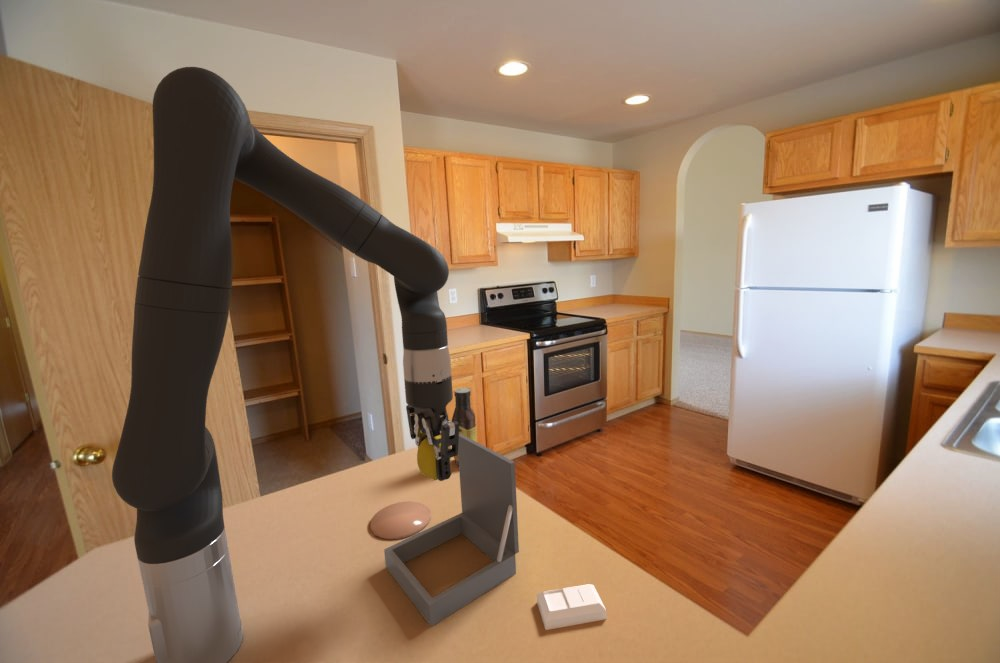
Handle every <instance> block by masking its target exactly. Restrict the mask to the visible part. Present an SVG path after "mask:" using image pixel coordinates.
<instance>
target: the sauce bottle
mask: <svg viewBox="0 0 1000 663" xmlns="http://www.w3.org/2000/svg"><path fill="white" fill-rule="evenodd" d="M453 396H454V398H455V408H454V411H453V414H452V418H451V422H455V421H457V422H458V423H459V434H462V435H464V436H466V437H468V438H470V439H472V440H473V441H475V442H477V443H478V441H477V439H478V438H477V424H476V413H475V411H474V409H473V408H472V407H471V406H472V405H471V404H472V403H471V389H470V388H468V387H459V388H456V389H455V390H454V395H453ZM453 460H454V464H455V465H456V466H458V467H459V459H458V455H457V456H454V457H453Z"/></svg>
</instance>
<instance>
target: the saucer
mask: <svg viewBox="0 0 1000 663" xmlns="http://www.w3.org/2000/svg"><path fill="white" fill-rule="evenodd" d="M431 515H432V514H431V510H430V508H429V507H428V506H427V505H425V504H424V503H421V502H417V501H401V502H400V501H399V502H396V503H392V504H389V505H388V506H385V507H383V508H382V509H380V510H379V511H377V512H376V513H375V514H374V515H373V517H371V521H370V530H371V532H372V534H373V535H374V536H376V537H378V538H380V539H384V540H401V539H407V538H409V537H412V536H414V535H416V534H418V533H420V532H422V530H423V529H424V530H425V528H426V527H427V526H428V525H429V522H430V521H431V518H432V517H431ZM424 530H423V531H424Z"/></svg>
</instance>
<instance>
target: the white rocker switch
mask: <svg viewBox="0 0 1000 663" xmlns="http://www.w3.org/2000/svg"><path fill="white" fill-rule="evenodd" d="M536 604H537V607H538V610H539V613H540V616H541V620H542V624H543V627H544V630H545V631H548V630H554V629H558V628H559V629H560V628H564V627H570V626H576V625H581V624H587V623H592V622H598V621H605V620H607V609H606V607H605V605H604V603H603V601H602V599H601V597H600V594H599V593H598V591H597V589H596V587H595V585H594V584H592V583H587V584H582V585H575V586H567V587H562V588H556V589H551V590H544V591H541V592H538V593H537V594H536Z"/></svg>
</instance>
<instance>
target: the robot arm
mask: <svg viewBox="0 0 1000 663" xmlns="http://www.w3.org/2000/svg"><path fill="white" fill-rule="evenodd" d="M152 134H153V178H152V179H153V181H152V192H151V198H150V202H149V208H148V213H147V216H146V223H145V227H144V233H143V240H142V248H141V255H140V260H139V261H140V262H139V266H138V273H137V278H136V279H137V282H136V289H135V290H136V291H135V300H134V307H133V308H134V309H133V326H132V327H133V328H132V342H131V343H132V344H131V382H130V393H129V399H128V405H127V410H126V414H125V419H124V422H123V423H124V424H123V427H122V432H121V436H120V439H119V443H118V446H117V449H116V453H115V457H114V460H113V461H114V462H113V464H112V468H111V469H112V470H111V480H112V484H113V487H114V489H115V491H116V494H118V496H119V498H120V499H121V500H122V501H124V503H126V504H127V505H129V506H130V507H133V508H134V509H136V522H135V531H134V539H133V540H134V546H135V552H136V556H137V557H136V558H137V561H138V566H139V571H140V576H141V581H142V585H143V590H144V595H145V600H146V606H147V611H148V619H147V620H148V622H147V625H148V626H147V627H148V632H149V636H150V642H151V646H152V652H153V656H154V660H155V663H228V662H229V661H230V660H231V659H232V658H233V657H234V655H235V654H236V653H237V652H238V651H239V648H240V647H241V644H242V641H243V639H244V638H243V637H244V636H243V628H242V620H241V616H240V610H239V604H238V598H237V592H236V585H235V580H234V579H235V578H234V573H233V569H232V564H231V563H232V562H231V556H230V552H229V546H228V538H227V532H226V525H225V520H224V506H223V503H224V502H223V500H224V499H223V491H222V484H221V478H220V470H219V463H218V458H217V457H218V456H217V451H216V445H215V440H214V438H213V436H212V433H211V432H210V430H209V429H208V428H207V427H206V420H207V419H206V417H207V416H206V414H207V403H208V394H209V390H210V385H211V381H212V378H213V375H214V372H215V368H216V366H217V362H218V359H219V356H220V352H221V348H222V345H223V342H224V337H225V333H226V329H227V325H228V319H229V312H230V305H231V297H232V290H233V289H232V288H233V273H234V265H233V264H234V260H233V259H234V258H233V239H232V230H231V229H232V228H231V227H232V226H231V210H230V209H231V198H232V197H231V196H232V189H233V184H234V181H235V180H237V181H238V182H240V183H242V184H245V185H247V186H249V187H251V188H252V189H254V190H256V191H258V192H260V193H262V195H265V196H266V197H267V198H270V199H272V200H273V201H275V202H277V203H278V204H280V205H281V206H283V207H284V208H286V209H287V210H289V211H290V212H292V213H294V215H296V216H297V217H299V218H301V219H302V220H304V221H305V222H306V223H307V224H309V225H310V226H312V227H313V228H314V229H316V230H318V231H319V232H321V233H322V234H323V235H325V236H327V237H328V239H331V240H332V241H334V242H335V243H337V244H339V245H340V246H341V247H343V248H344V249H346V250H347V251H349V252H350V253H352V254H354V256H356V257H358V258H360V259H361V260H364V261H365V262H368V263H370V264H371V263H372V264H374V265H376V266H378V267H379V268H381V269H382V270H384V271H385V272H387V273H389V274H390V275H391V276H393V281H394V288H395V294H396V299H397V304H398V307H399V312H400V316H401V334H402V348H403V350H402V351H403V355H402V356H403V358H402V366H403V368H402V369H403V381H404V392H405V394H404V395H405V403H406V406H405V408H406V416H407V421H408V422H407V423H408V427H409V428H408V429H409V436H410V438H411V439H412V440H414V441H415V445H416V446H417V449H418V448H419V445H420V443H421V442H422V441H423V440H424V439H425V438H427V437H428V441H429V444H430V445H431V446H433V449H434V452H435V456H436V473H437V479H438V480H437V481H440V482H443V481H446V480H447V479H450V478H451V476H452V475H451V474H452V473H451V472H452V471H451V470H452V469H451V461H450V458H451V459H452V458H454V456H457V455H458V441H459V423H458V422H457V421H455V422H452V420H451V421H450V419H449V414H448V411H447V405H448V404H450V403H451V402H452V401H453V398H454V397H453V396H454V395H453V393H454V392H453V380H452V379H453V378H452V376H453V375H452V363H451V354H450V349H449V344H448V343H449V342H448V341H449V340H448V325H447V324H448V323H447V318H446V315H445V312H444V311H443V310H442V309H441V306H440V302H439V297H438V294H439V293H438V291H440V290H441V289H442V288H444V286H445V285H446V284H447V281H448V279H449V274H450V272H449V264H448V262H447V260H446V258H445V257H444V255H443V254H442V253H441V252H440V251H438V249H436V248H435V247H434V246H433V245H431V244H430V243H428V242H427V241H425V240H423V239H421V238H420V237H418V236H416V235H414V234H413V233H411V232H409V231H407V230H405V229H404V228H402V227H400V226H398V225H396V224H394V223H393V222H392V221H390V220H389V219H388V218H387V216H385V215H384V214H381V212H379V211H378V210H376V209H375V208H373V207H372V206H370V205H369V204H368V203H367V202H365V201H364V200H362V199H361V198H359V196H357V195H355V194H354V193H352V192H351V191H349V190H347V188H344V187H343V186H341V185H340V184H337V183H335V182H333V181H331V180H329V179H328V178H325V177H324V176H321V175H319V174H318V173H316V172H314V171H312V170H310V169H308V168H307V167H305V166H303V164H300V163H299V162H298V161H296V160H295V159H293V158H292V157H290V156H289V155H287V154H286V153H284V152H283V151H282V150H281V149H279V148H278V147H277V146H276V145H274V144H273V143H272V142H271V141H270V140H269V139H268V138H267V137H266V136H265V135H263V134H262V133H261V132H260V131H259V129H257V128H256V127H255V126H254V124H252V123H251V117H250V115H249V112H248V110H247V107H246V105H245V103H244V102H243V100H242V98H241V97H240V94H238V92H237V91H236V90H235V89H234V87H233V86H232V85H231V84H230V83H229V82H228V81H226V80H225V78H223V77H222V76H220V75H218V74H217V73H216V72H213V71H211V70H209V69H207V68H203V67H197V66H183V67H180V68H179V67H178V68H177V69H174V70H172V71H171V72H169V73H167V75H166V76H164V77H163V78H162V79H161V81H159V83H158V84H157V86H156V89H155V91H154V93H153V98H152ZM436 436H439V437H441V438H439V439H435V438H434V437H436ZM440 443H441V451H440V448H439V444H440Z"/></svg>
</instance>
